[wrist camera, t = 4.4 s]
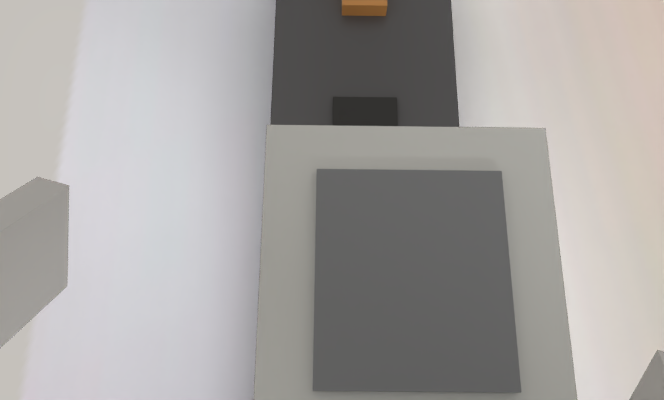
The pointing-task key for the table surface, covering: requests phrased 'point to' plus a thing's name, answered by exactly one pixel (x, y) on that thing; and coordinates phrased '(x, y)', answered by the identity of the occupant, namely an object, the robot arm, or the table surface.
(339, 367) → the block
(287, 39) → the power strip
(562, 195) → the table surface
